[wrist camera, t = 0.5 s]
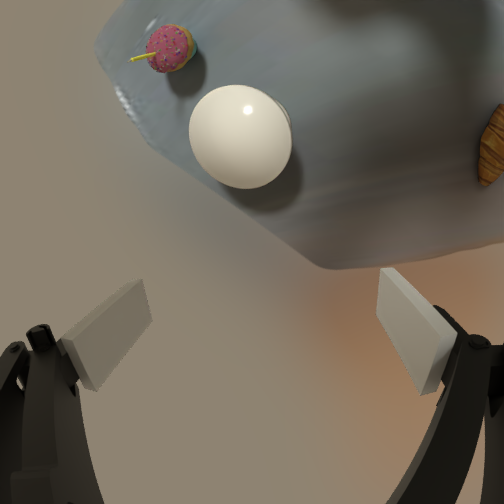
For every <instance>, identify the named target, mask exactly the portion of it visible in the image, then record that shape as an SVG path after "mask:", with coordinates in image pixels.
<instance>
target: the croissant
mask: <svg viewBox="0 0 504 504" xmlns="http://www.w3.org/2000/svg"><path fill="white" fill-rule="evenodd" d="M503 172H504V105H503V104H499V106H498V107H497V108H496V110H495V111H494V113H493V115H492V116H491V118H490V122H489V125H488V126H487V127H486V129H485V131H484V133H483V135H482V137H481V144H480V158H479V161H478V180H479V182H480V183H481V184H482V185H484V186H488V185H490V184H491V183H492V182H494V181H495V180H496V179H497V178H498V177H499V176H500V175H501V174H502V173H503Z"/></svg>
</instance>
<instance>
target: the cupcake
mask: <svg viewBox="0 0 504 504" xmlns="http://www.w3.org/2000/svg"><path fill="white" fill-rule="evenodd" d="M147 42H148V43H147V46H146V48H147V49H146V54H145V55H141V56H137V57H134V58H131V60H129V61H127V63H128V62H130V61H131V62H134V61H137V60H141V59H145V58H148V60H147V61H148V63H150V65H151V67H152V68H153V69H154V70H157V71H158V72H161V73H165V72H172V71H176V70H178V69H181V68H182V67H183V66H184V65H185V64H186V63H187V61H188V60H189V59H191V58H192V57H193V56H194V55H195V53H196V50H197V44H196V42H195V40H194V39H193V38H192V35H191V33H190V32H189V31H188V30H187V29H185V28H183V27H181V26H177V25H175V24H169V25H164V26H162V27H160V28H159V29H157V30H156V31H155V32H154V34H151V37H150V39H149V40H148V41H147ZM150 65H149V66H150ZM157 71H156V72H157Z"/></svg>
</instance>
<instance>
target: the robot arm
mask: <svg viewBox="0 0 504 504" xmlns="http://www.w3.org/2000/svg"><path fill="white" fill-rule="evenodd" d="M376 316H377V317H378V319H379V321H380V322H381V324H382V326H383V328H384V329H385V331H386V333H387V334H388V336H389V338H390V340H391V341H392V343H393V345H394V347H395V349H396V350H397V352H398V354H399V356H400V358H401V360H402V361H403V363H404V365H405V367H406V368H407V371H408V373H409V375H410V377H411V378H412V380H413V382H414V384H415V386H416V388H417V390H418V392H419V394H420V396H421V395H425V394H429V393H432V392H436V390H437V388H438V386H439V384H440V381H441V380H442V382H443V384H444V385H445V388H444V390H443V392H442V394H441V396H440V399H439V401H438V403H437V405H436V406H437V408H436V411H435V413H434V416H433V418H432V420H431V423H430V425H429V427H428V430H427V432H426V434H425V436H424V439H423V441H422V443H421V445H420V447H419V449H418V451H417V453H416V455H415V457H414V459H413V460H412V462H411V464H410V466H409V468H408V469H407V471H406V473H405V475H404V476H403V478H402V479H401V481H400V483H399V485H398V486H397V488H396V489H395V491H394V492H393V494H392V495H391V497H390V498H389V500H388V501H387V503H386V504H455V503H456V500H457V498H458V496H459V493H460V491H461V489H462V486H463V484H464V481H465V478H466V476H467V473H468V471H469V467H470V465H471V462H472V459H473V455H474V452H475V448H476V445H477V442H478V438H479V434H480V430H481V426H482V421H483V416H484V418H485V463H484V477H483V487H482V494H481V502H480V504H504V343H503V345H491V343H490V341H489V340H488V339H486V338H485V337H483V336H480V335H476V334H471V335H469V334H467V332H466V331H465V330H464V329H463V328H462V327H461V326H460V325H459V324H458V323H457V322H456V321H455V320H454V319H453V318H452V317H450V315H449V314H448V313H447V312H446V311H445V310H444V309H442V308H441V307H439V306H437V305H433V306H432V305H431V304H430V303H429V302H428V301H427V300H426V299H425V298H424V297H423V296H422V295H421V294H420V293H419V292H418V291H417V290H416V289H415V288H414V287H413V286H412V285H411V284H410V283H409V282H408V281H407V280H406V279H404V277H403V276H401V275H400V274H399V273H398V272H397V271H396V270H395V269H394V268H381V269H380V278H379V289H378V300H377V308H376ZM151 322H152V317H151V313H150V310H149V305H148V301H147V297H146V293H145V289H144V284H143V281H142V279H132V280H130V281H129V282H128V283H126V284H125V285H124V286H123V287H121V288H120V289H119V290H117V291H116V292H115V293H114V294H113V295H111V296H110V297H109V298H108V299H106V300H105V301H104V302H103V303H101V304H100V305H99V306H98V307H96V308H95V309H94V310H93V311H92V312H90V313H89V314H88V315H87V316H86V317H84V318H83V319H82V320H81V321H80V322H78V323H77V324H76V325H75V326H74V327H73V328H71V329H70V330H69V331H68V332H67V333H66V334H64V335H63V336H62V337H61V338H60V339H59V340H58V341H57V342H56V341H55V339H54V336H53V334H52V331H51V329H50V326H49V325H47V324H41V325H37V326H35V327H33V328H31V329H30V330H29V331H28V332H27V333H26V336H27V338H28V340H29V343H30V345H31V347H32V349H33V351H28V350H27V348H26V346H25V343H24V342H22V341H18V342H13V343H11V344H10V345H9V346H8V347H7V348H6V349H5V351H4V352H3V354H2V356H1V357H0V504H104V501H103V498H102V496H101V493H100V490H99V486H98V483H97V480H96V477H95V473H94V470H93V465H92V462H91V458H90V453H89V449H88V445H87V440H86V435H85V429H84V424H83V417H82V411H81V403H80V396H79V389H78V386H77V384H76V382H77V380H78V379H79V378H80V380H81V382H82V384H83V386H84V388H86V389H89V390H93V391H96V392H97V391H98V390H99V388H100V387H101V386H102V384H103V383H104V382H105V380H106V379H107V378H108V377H109V375H110V374H111V373H112V371H113V370H114V369H115V367H116V366H117V365H118V364H119V362H120V361H121V360H122V359H123V357H124V356H125V355H126V353H127V352H128V351H129V350H130V348H131V347H132V346H133V345H134V343H135V342H136V341H137V340H138V338H139V337H140V336H141V335H142V333H143V332H144V331H145V329H146V328H147V327H148V326H149V325H150V324H151ZM17 377H18V379H19V381H20V382H21V384H22V386H23V388H22V390H21V389H20V388H19V386H18V385H17V382H16V380H17Z"/></svg>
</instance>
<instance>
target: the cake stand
mask: <svg viewBox="0 0 504 504" xmlns="http://www.w3.org/2000/svg"><path fill="white" fill-rule="evenodd" d="M189 138H190V143H191V147H192V150H193V153H194V155H195V157H196V159H197V160H198V162H199V163H200V165H201V166H202V167H203V169H204V170H205V171H206V172H207V173H208V174H209V175H211V176H212V177H213V178H215V179H216V180H218V181H219V182H221V183H223V184H225V185H228V186H231V187H235V188H240V189H251V188H257V187H261V186H263V185H266V184H267V183H269V182H271V181H272V180H274V179H275V178H276V177H277V176H278V175H279V174H280V173H281V172H282V170H283V169H284V168H285V166H286V165H287V163H288V160H289V158H290V155H291V152H292V145H293V137H292V125H291V120H290V117H289V114H288V113H287V111H286V109H285V108H284V107H283V105H282V104H281V103H280V102H278V101H277V100H276V99H274V98H272V97H271V96H269V95H268V94H266V93H265V92H263V91H261V90H259V89H257V88H254V87H250V86H246V85H230V86H224V87H220V88H217V89H215V90H213V91H211V92H209V93H208V94H207V95H205V96H204V97H203V98H202V99H201V100H200V101H199V103H198V104H197V105H196V107H195V109H194V111H193V113H192V116H191V119H190V125H189Z"/></svg>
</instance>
